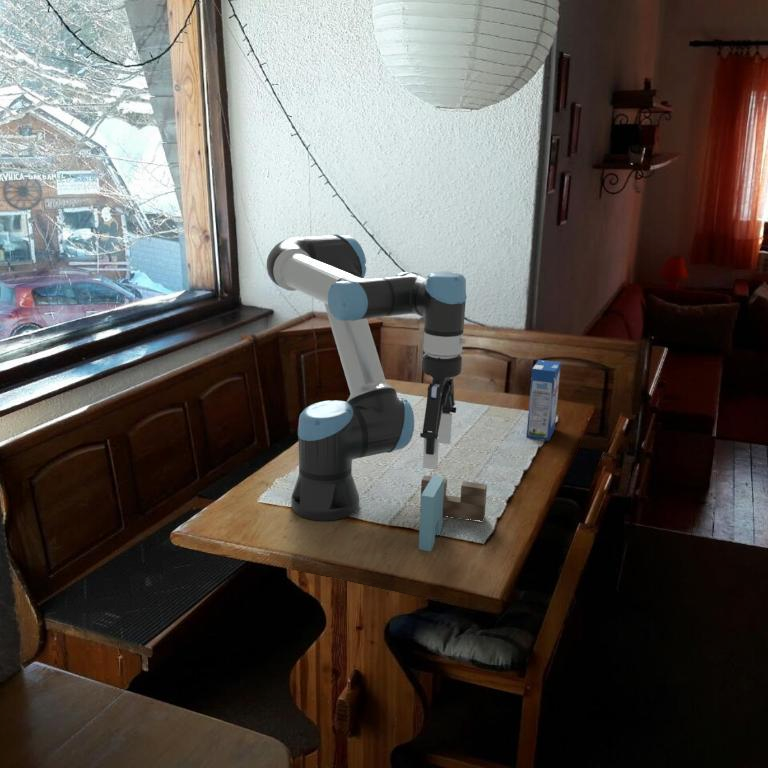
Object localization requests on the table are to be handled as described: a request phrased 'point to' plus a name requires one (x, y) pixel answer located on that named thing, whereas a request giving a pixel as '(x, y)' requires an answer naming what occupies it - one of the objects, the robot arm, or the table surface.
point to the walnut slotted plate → (463, 500)
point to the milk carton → (543, 399)
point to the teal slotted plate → (431, 513)
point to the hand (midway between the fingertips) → (437, 455)
